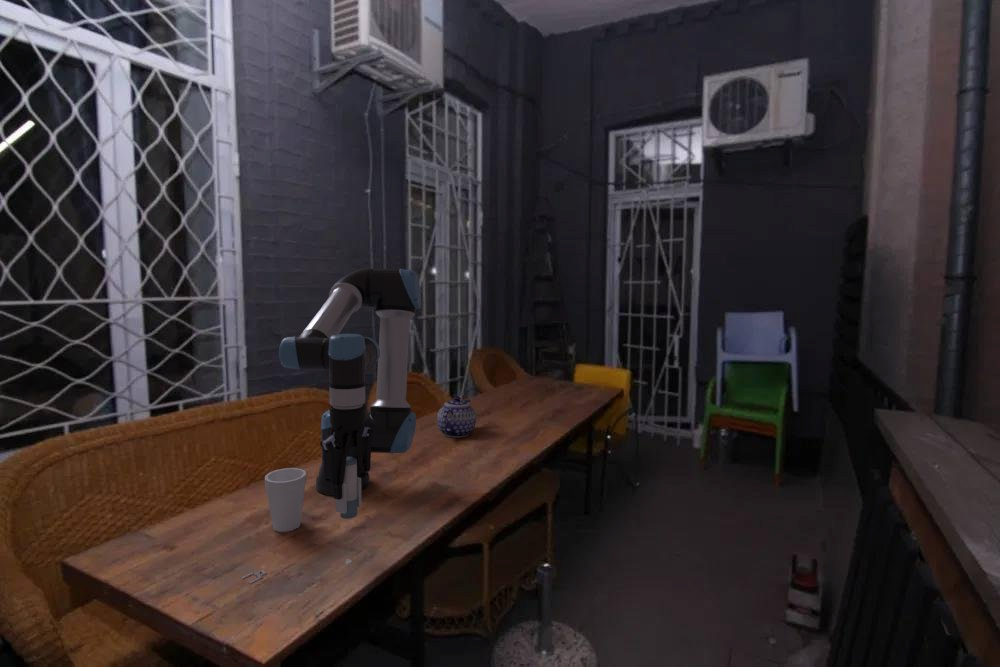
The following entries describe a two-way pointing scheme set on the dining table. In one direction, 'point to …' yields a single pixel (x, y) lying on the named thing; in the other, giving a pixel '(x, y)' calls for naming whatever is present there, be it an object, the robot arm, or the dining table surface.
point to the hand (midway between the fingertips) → (348, 508)
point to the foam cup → (285, 497)
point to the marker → (351, 487)
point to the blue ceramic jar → (456, 418)
